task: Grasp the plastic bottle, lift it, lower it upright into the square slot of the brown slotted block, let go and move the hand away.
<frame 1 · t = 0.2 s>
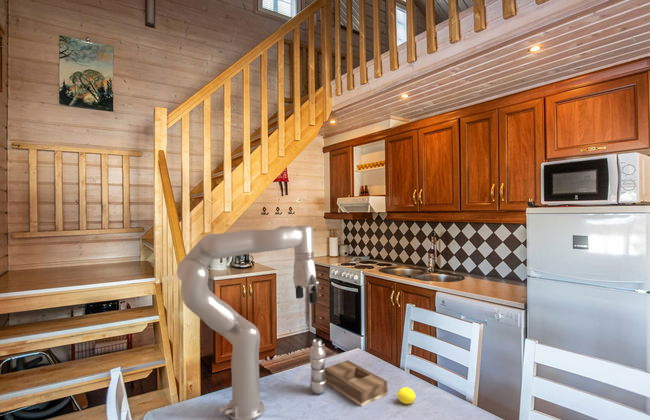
hand: (306, 300, 139), 36 cm above the table, tool pointing down, fingers open, 9 cm apart
brown slotted block: (354, 387, 140), on the table
lemon: (406, 403, 128), on the table
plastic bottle: (318, 392, 138), on the table
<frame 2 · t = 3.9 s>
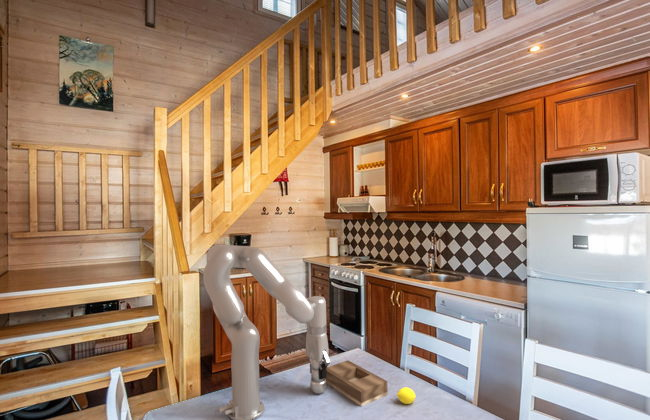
hand: (318, 375, 138), 7 cm above the table, tool pointing down, fingers closed on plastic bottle, 5 cm apart
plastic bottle: (318, 392, 138), on the table, touching gripper
everything else where it was.
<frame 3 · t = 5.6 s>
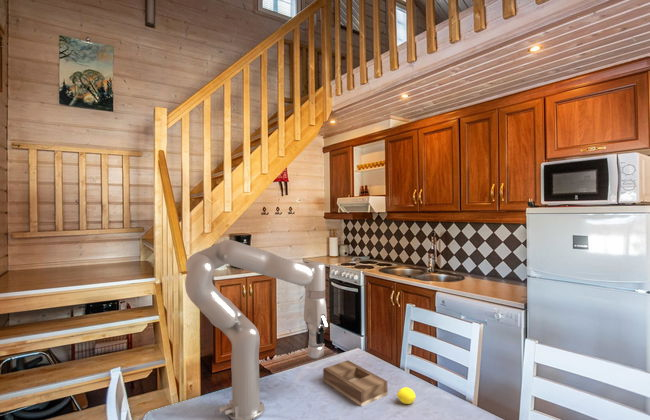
hand: (315, 340, 138), 20 cm above the table, tool pointing down, fingers closed on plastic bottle, 5 cm apart
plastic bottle: (315, 357, 138), point 13 cm above the table, touching gripper
everything else where it was.
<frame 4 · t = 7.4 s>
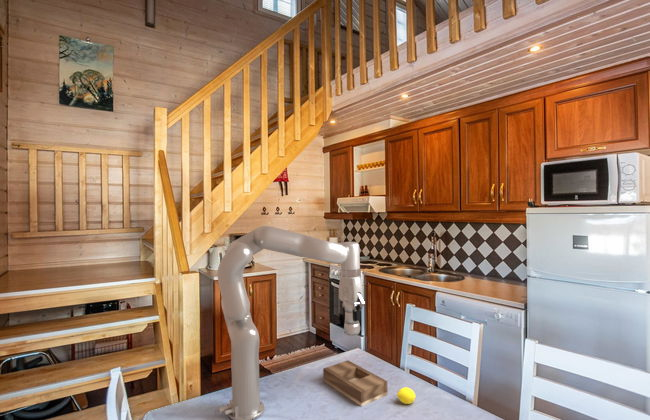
hand: (351, 318, 140), 27 cm above the table, tool pointing down, fingers closed on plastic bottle, 5 cm apart
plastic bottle: (352, 335, 140), point 21 cm above the table, touching gripper
everything else where it was.
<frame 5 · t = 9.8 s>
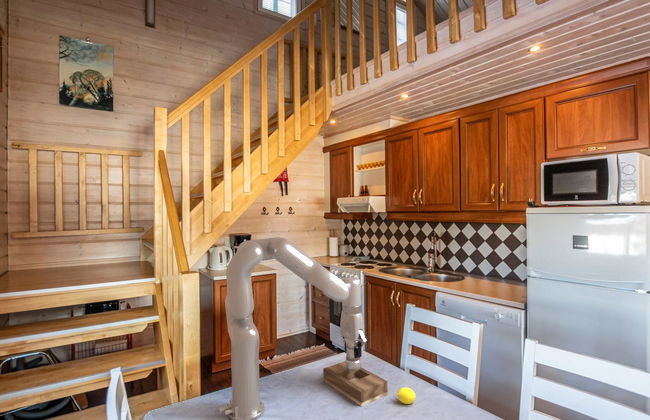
hand: (353, 354, 140), 13 cm above the table, tool pointing down, fingers closed on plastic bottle, 5 cm apart
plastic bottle: (353, 371, 140), point 7 cm above the table, touching gripper
everything else where it was.
when the fingers open (9 cm above the table, at t = 11.4 s): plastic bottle drops 1 cm, resting on brown slotted block.
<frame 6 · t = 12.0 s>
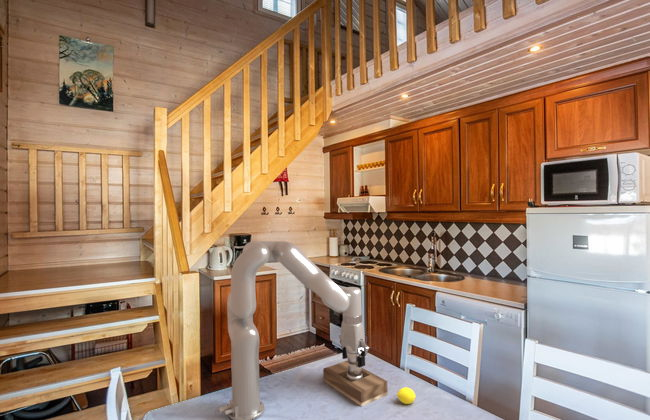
hand: (353, 362, 140), 10 cm above the table, tool pointing down, fingers open, 9 cm apart
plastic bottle: (355, 386, 139), point 1 cm above the table, touching brown slotted block
everything else where it was.
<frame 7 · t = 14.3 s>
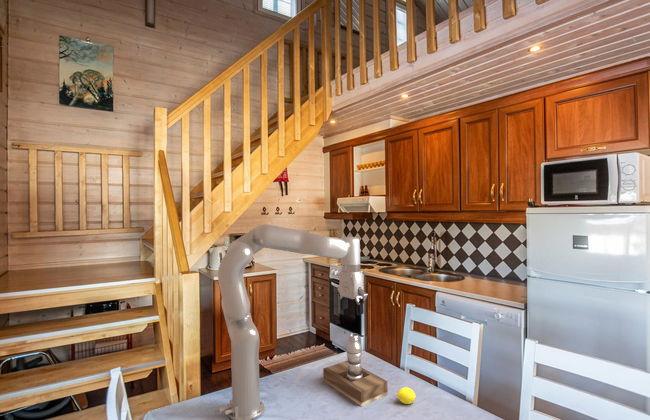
hand: (352, 311, 140), 30 cm above the table, tool pointing down, fingers open, 9 cm apart
nothing on the table moved.
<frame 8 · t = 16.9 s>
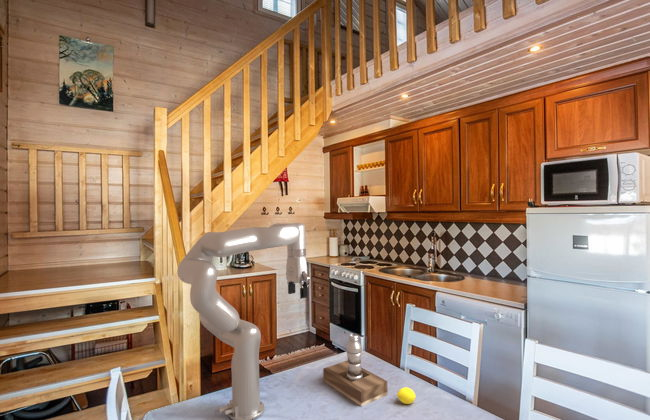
hand: (297, 295, 144), 36 cm above the table, tool pointing down, fingers open, 9 cm apart
nothing on the table moved.
at the end: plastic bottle 0.9 cm off-centre on the brown slotted block, point 1.0 cm above the brown slotted block's base; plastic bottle tilted 0°; the gripper is holding nothing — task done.
